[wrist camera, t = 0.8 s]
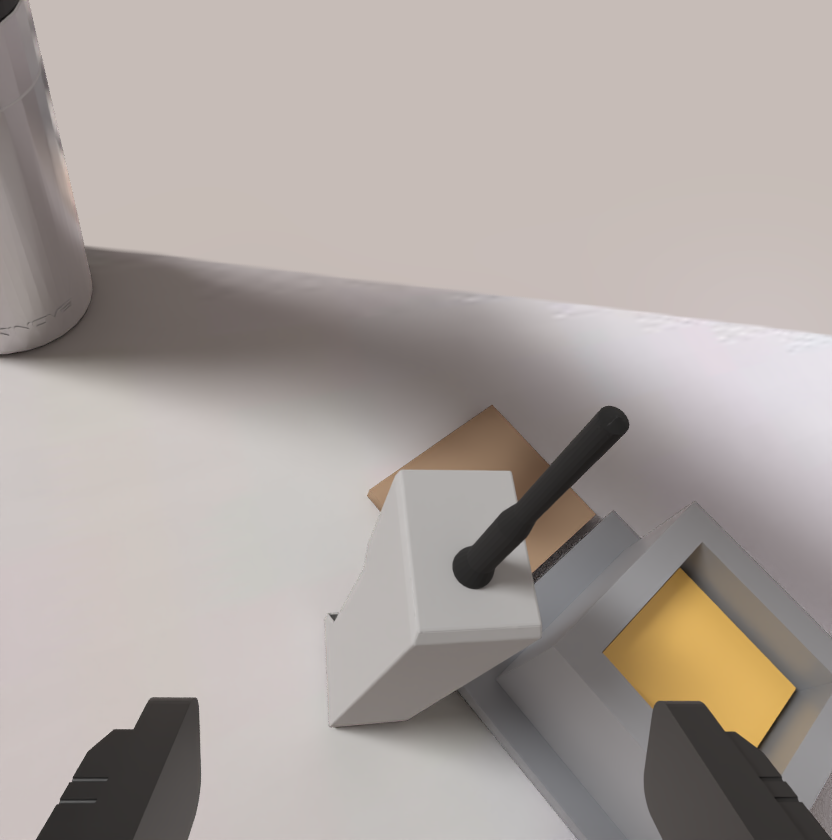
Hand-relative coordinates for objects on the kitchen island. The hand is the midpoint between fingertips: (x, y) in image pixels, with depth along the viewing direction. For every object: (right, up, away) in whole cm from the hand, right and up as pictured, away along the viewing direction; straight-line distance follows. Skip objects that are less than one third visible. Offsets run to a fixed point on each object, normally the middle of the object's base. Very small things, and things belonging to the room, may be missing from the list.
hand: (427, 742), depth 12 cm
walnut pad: (+4, +1, +27) cm, 27 cm away
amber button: (+12, -7, +21) cm, 25 cm away
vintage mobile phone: (-3, -7, +21) cm, 22 cm away
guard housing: (+11, -9, +24) cm, 27 cm away
